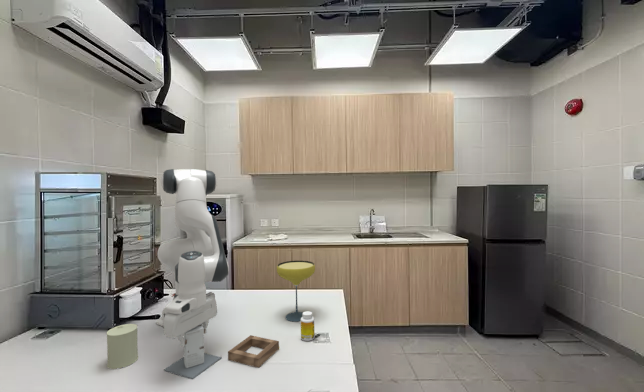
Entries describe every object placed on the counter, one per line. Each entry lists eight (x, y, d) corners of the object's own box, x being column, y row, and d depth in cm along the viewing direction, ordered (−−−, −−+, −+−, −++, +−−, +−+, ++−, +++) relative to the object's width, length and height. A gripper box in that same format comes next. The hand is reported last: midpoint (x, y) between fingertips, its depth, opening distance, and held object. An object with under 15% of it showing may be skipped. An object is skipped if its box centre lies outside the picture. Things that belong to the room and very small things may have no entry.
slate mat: (163, 370, 99) (163, 369, 99) (194, 351, 111) (194, 350, 111) (192, 379, 94) (192, 378, 94) (221, 358, 106) (221, 357, 106)
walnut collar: (228, 360, 105) (227, 351, 105) (250, 342, 117) (250, 335, 117) (258, 367, 100) (258, 358, 100) (278, 349, 111) (278, 341, 111)
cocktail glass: (291, 329, 128) (290, 271, 128) (270, 316, 142) (269, 264, 142) (323, 317, 139) (322, 264, 139) (301, 306, 153) (300, 258, 153)
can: (132, 351, 111) (132, 320, 111) (142, 360, 105) (141, 326, 105) (103, 363, 104) (102, 329, 104) (111, 372, 98) (111, 336, 98)
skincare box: (186, 369, 99) (184, 333, 99) (183, 363, 103) (182, 328, 102) (205, 362, 102) (204, 328, 102) (202, 357, 106) (201, 323, 106)
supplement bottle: (314, 341, 117) (314, 315, 117) (300, 342, 117) (300, 316, 117) (314, 334, 122) (313, 310, 122) (300, 335, 122) (300, 310, 122)
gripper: (207, 289, 113) (208, 325, 113) (160, 308, 94) (161, 352, 94) (220, 291, 111) (221, 328, 111) (174, 311, 92) (175, 355, 92)
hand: (193, 339), depth 102 cm, fingers open, 7 cm apart
